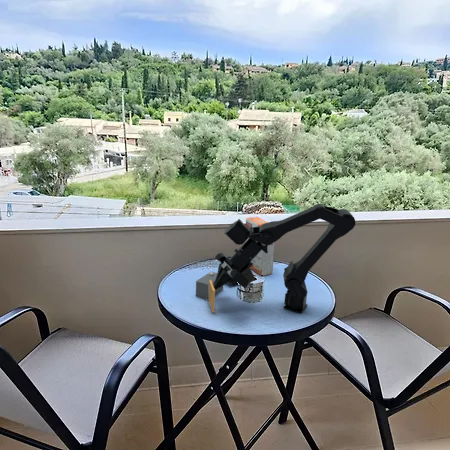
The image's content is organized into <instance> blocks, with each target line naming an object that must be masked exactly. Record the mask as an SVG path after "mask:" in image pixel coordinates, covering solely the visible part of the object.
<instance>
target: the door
mask: <svg viewBox="0 0 450 450" xmlns="http://www.w3.org/2000/svg"><path fill="white" fill-rule="evenodd" d="M215 302H216V296H215V289H214V287H213V284H212V281H211V280H209V286H208V300H207V303H209V307H210V310H211V313H212V314H213V313H215V307H216V306H215V305H216V304H215Z"/></svg>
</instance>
